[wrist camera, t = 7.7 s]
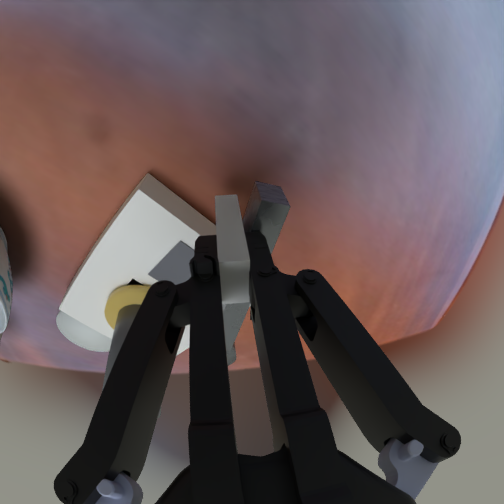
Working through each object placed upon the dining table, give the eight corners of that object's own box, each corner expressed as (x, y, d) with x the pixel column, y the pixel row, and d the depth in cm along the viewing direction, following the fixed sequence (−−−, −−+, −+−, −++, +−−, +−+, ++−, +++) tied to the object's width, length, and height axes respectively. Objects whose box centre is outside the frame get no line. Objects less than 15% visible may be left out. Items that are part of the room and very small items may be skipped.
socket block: (147, 172, 19) (133, 198, 16) (268, 266, 27) (277, 300, 23) (67, 288, 25) (54, 319, 22) (165, 343, 33) (163, 373, 29)
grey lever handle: (229, 346, 26) (231, 368, 24) (196, 343, 25) (196, 365, 23) (292, 189, 17) (303, 209, 15) (241, 177, 16) (246, 197, 14)
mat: (68, 295, 26) (67, 298, 26) (131, 331, 31) (131, 334, 30) (50, 327, 29) (49, 329, 29) (104, 356, 34) (104, 358, 33)
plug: (137, 247, 23) (103, 380, 13) (197, 286, 27) (197, 412, 17) (103, 288, 26) (73, 402, 16) (157, 319, 30) (148, 429, 19)
